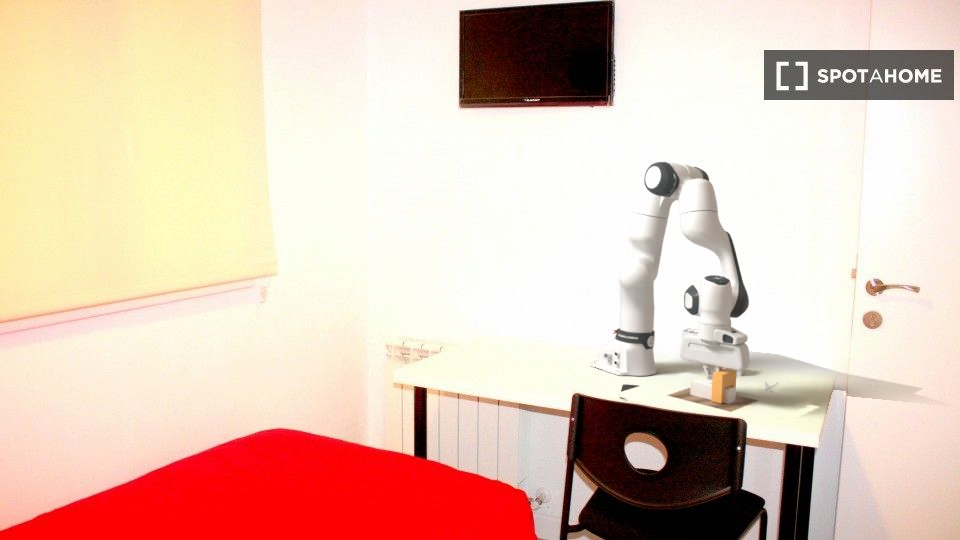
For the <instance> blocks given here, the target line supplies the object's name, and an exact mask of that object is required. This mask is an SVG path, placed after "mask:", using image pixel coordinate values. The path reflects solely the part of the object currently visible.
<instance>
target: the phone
mask: <svg viewBox="0 0 960 540" xmlns="http://www.w3.org/2000/svg"><path fill="white" fill-rule="evenodd" d="M638 387H640V385H636V384H627V383H626V384H623V385H622V386H621V389H620V391H621V393H622V392H624V391H628V390H632V389H634V388H638ZM619 398H620V399H621V400H626V398H624V397H622V396H619Z"/></svg>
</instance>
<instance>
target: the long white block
mask: <svg viewBox="0 0 960 540" xmlns="http://www.w3.org/2000/svg"><path fill="white" fill-rule="evenodd" d="M690 388H691V389H690V395H694V396H698V397H702V398H706V399H710V400H711V397H712V381H710V380H705V379H701V378H700V379H699V378H696V379H694V380H691V381H690ZM736 395H737V386H736V387H731V386H728V387H726V388H725V389H724V402H723V403H726V404H729V403H732V402H735V397H736Z"/></svg>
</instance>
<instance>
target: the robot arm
mask: <svg viewBox="0 0 960 540" xmlns="http://www.w3.org/2000/svg"><path fill="white" fill-rule="evenodd" d="M643 184H644V185H643V186H642V188H641V190H640V193H639V196H638V198H637V202H636V204H635V208H634V213H633V216H632V223H631V227H630V232H629V239H628V247H627V248H628V249H627V254H626V255H627V256H626V260H625V261H624V262H623V263H622V265H621V266H620V268H619V272H618V273H619V279H618V280H619V281H618V283H619V301H620V319H619V327H618V328H617V329H615V330H613V333H612V334H613V335H615V336H614V339H612V340H611V341H609V342H607V344H605V345H603V346H602V347H601V348H600V349H599V351H598V355H597V359H596V360H593V361H592V362H591V363H590V367H593V368H595V367H596V368H595V369H598V368H599V370H601V369H602V371H604V372H607V373H609V374H613V375H617V376H633V377H634V376H635V377H637V376H639V377H641V376H642V377H643V376H651V375H655V374H657V369H656V368H657V367H656V363H655V357H654V356H655V355H654V345H655V329H654V328H655V327H654V324H655V323H654V321H655V298H654V297H655V296H654V292H655V291H654V290H655V289H654V287H655V285H654V284H655V283H654V282H655V281H656V279H657V277H658V273H659V267H660V263H661V258H662V253H663V252H662V251H663V245H664V239H665V234H666V230H667V225H668V220H669V216H670V210H671V207H672V204H673V203H674V202H675V201H678V203H679V218H680V219H679V220H680V229H681V232H682V234H683V236H684V237H685V238H686V239H687V240H688V241H690V242H691V243H693V244H694V245H696V246H700V247H702V248H705V249H707V250H709V251H711V252H713V253H714V254H715V255H716V256H717V258H718V259H719V261H720V266H721V271H722V276H721V275H712V274H711V275H707V276H704V277H703V278H702V281H701V282H699V283H696V284H692V285H690V286H689V287H688V288H687V289H686V290H685V291H684V295H683V296H684V297H683V307H684V310H686V311H687V312H688V313H689V314H690V315H691V316H696V317H699V320H698V329H693V328H686V329H684V330H683V331H682V332H681V341H680V342H681V343H680V347H679V348H680V349H679V357H680V358H681V359H682V360H686V361H689V362H695V363H699V364H702V368H703V370H704V372H705V374H706V375H705V376H706V377H705V379H706V380H708V381H712V379H713V373H714V372H717V371H720V370H723V368H728V369H733V370H738V371H743V370H745V371H746V370H747V369H748V368H749V366H750V350H749V349H750V348H749V346H748V344H746V342H748V338H749V337H748V334H746V333H744V332H742V331H739V330H738V329H736V328H734V327H733V326H732V320H731V318H734V319H735V318H736V319H737V318H739V317H741V316H742V315H744V313H745V312H746V311H747V309H748V308H749V306H750V305H749V304H750V299H749V295H748V292H747V289H746V287H745V283H744V281H743V277H742V272H741V268H740V264H739V260H738V255H737V252H736V248H735V244H734V241H733V238H732V235H731V234H730V233H729V232H728V231H726V230H725V229H724V227H723V225H722V224H721V222H720V218H719V210H718V203H717V202H718V201H717V195H716V192H715V188H714V185H713V184H712V182H711V181H710V176H709V175H708V173H707V172H706V171H704V170H703V169H701V168H699V167H697V166H691V165H688V164H683V163H674V162H667V161H659V162H658V161H657V162H655V163H651V164H650V166H649V167H647V169H646V171H645V174H644V180H643ZM712 366H713V367H714V370H715V371H714V372H712V370H711V368H710V367H712Z"/></svg>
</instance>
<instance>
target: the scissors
mask: <svg viewBox="0 0 960 540" xmlns="http://www.w3.org/2000/svg"><path fill="white" fill-rule="evenodd" d="M778 384H779V382H776V383H775V384H772V385H770V386H769V384H768V383H767V382H766V381H764V386H765V387H764V388H763V389H762V391H769V392H771V393H775V391H774V390H773V388H774V387H775V386H777V385H778Z"/></svg>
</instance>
